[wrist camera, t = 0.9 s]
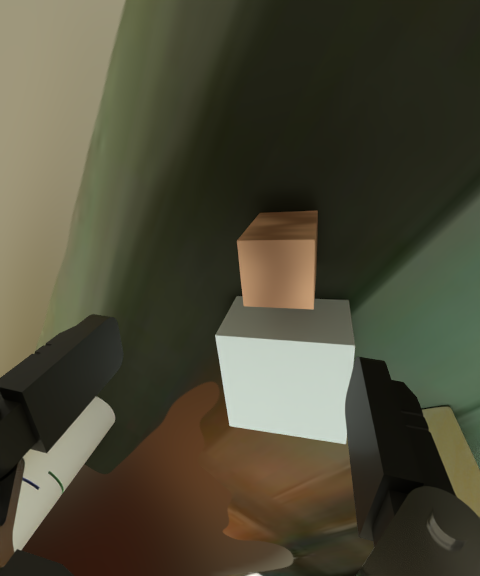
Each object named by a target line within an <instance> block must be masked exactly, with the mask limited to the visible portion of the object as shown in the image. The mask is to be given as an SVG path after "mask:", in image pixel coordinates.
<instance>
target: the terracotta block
mask: <svg viewBox="0 0 480 576" xmlns="http://www.w3.org/2000/svg"><path fill="white" fill-rule="evenodd" d="M317 225H318V211H295V212H269V213H259V215H258V216H257V217H256V218H255V219H254V221H253V222H252V223H251V224H250V225H249V227H248V228H247V229H246V230H245V232H244V233H243V234H242V235H241V236H240V238H239V239H238V240H237V246H238V256H239V266H240V275H241V285H242V295H243V305H244V306H248V307H270V308H292V309H314V298H315V283H316V268H317Z"/></svg>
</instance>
